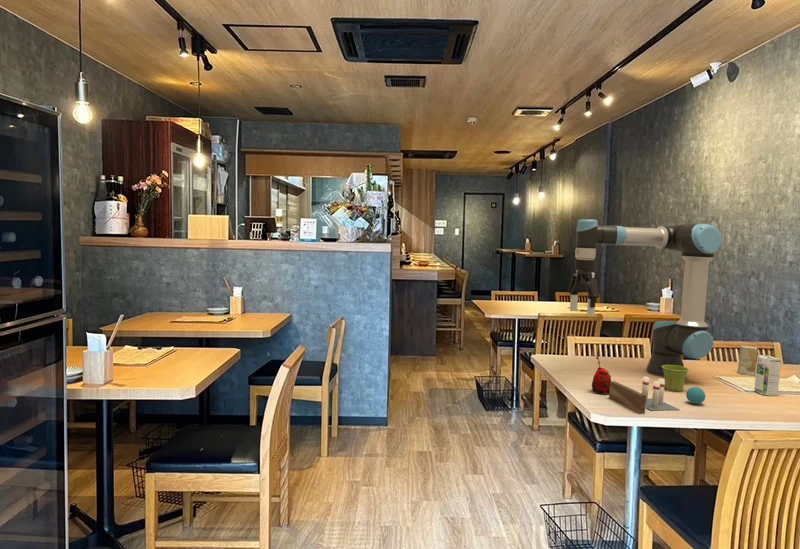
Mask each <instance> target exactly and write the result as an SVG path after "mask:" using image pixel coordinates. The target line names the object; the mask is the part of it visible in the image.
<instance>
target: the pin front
mask: <svg viewBox="0 0 800 549" xmlns="http://www.w3.org/2000/svg"><path fill="white" fill-rule="evenodd" d="M657 381H659V382H660V390H659V405H663V402H664V394H665V379H664V378H658V380H657Z"/></svg>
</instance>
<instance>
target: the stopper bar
mask: <svg viewBox="0 0 800 549" xmlns="http://www.w3.org/2000/svg"><path fill="white" fill-rule="evenodd" d="M608 398H609V399H611V400H613V401H614V402H616V403H618V404H620V405H622V406H624V407H626V408H627V409H630V410H631V411H634V412H636V413H638V414H639V415H641V414H646V408H645V405H646V395H644V394H642V392H639V391H637V390H635V389H633V388H630V387H629V386H626V385H624V384H622V383H620V382H618V381H616V380H615V381H613V380H611V381H610V392H609V396H608Z"/></svg>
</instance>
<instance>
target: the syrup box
mask: <svg viewBox="0 0 800 549" xmlns="http://www.w3.org/2000/svg"><path fill="white" fill-rule="evenodd" d="M781 364H782V359H781V358H777V357H773V356H771V355H763V354H762V355H757V361H756V370H755V378H754V379H755V380H754V389H753V391H754V390H755V391H757V392H758V393H757V392H756V393H757V394H759V393H760V394H759V395H762V396H764V395H769V397H773V396H774V397H777V396H778V394H779V384H780V375H781V374H780V373H781V366H782V365H781Z"/></svg>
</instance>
